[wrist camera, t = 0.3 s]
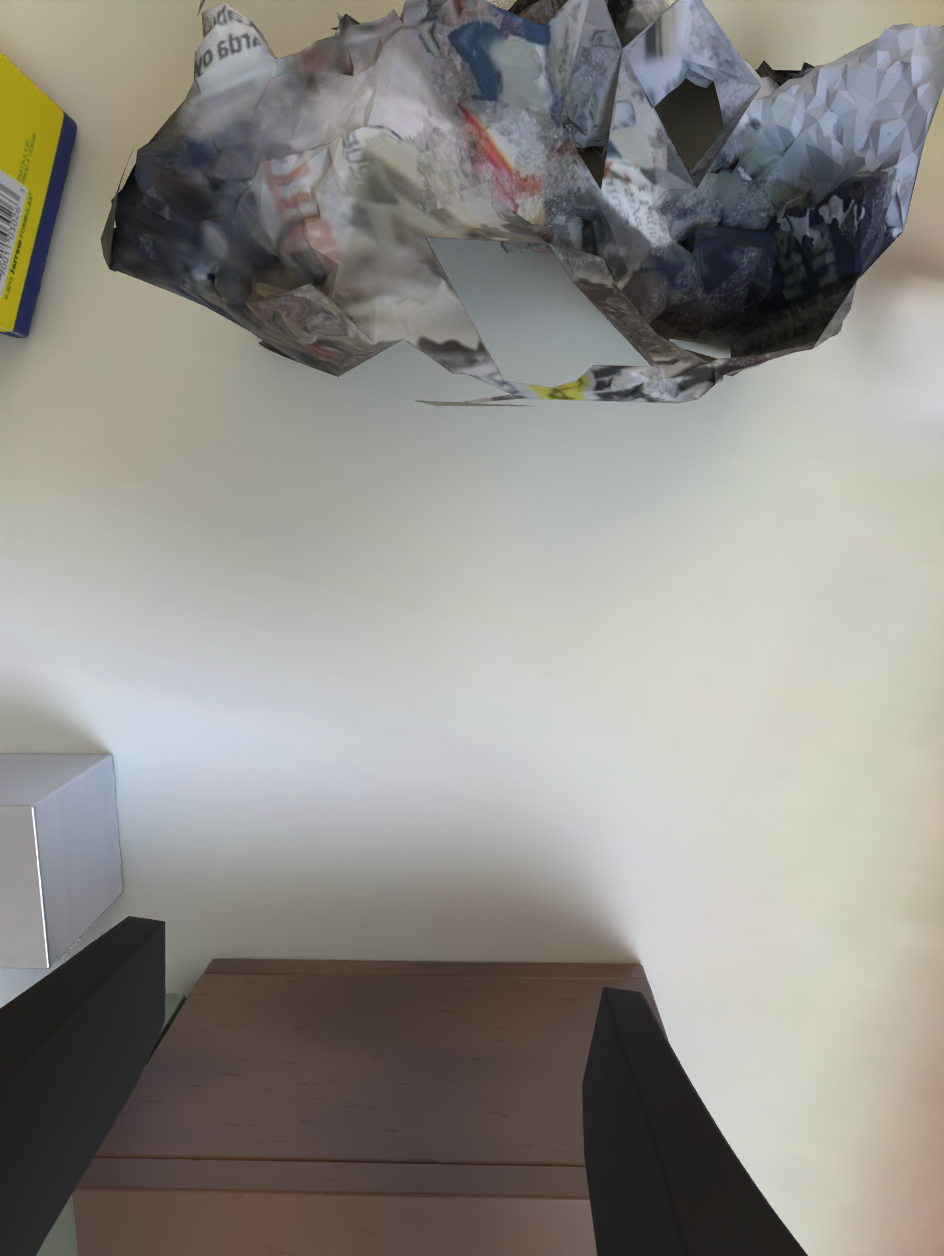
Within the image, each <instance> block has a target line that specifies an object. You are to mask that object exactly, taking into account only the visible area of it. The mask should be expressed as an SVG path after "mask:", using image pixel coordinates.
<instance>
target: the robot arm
mask: <svg viewBox="0 0 944 1256" xmlns="http://www.w3.org/2000/svg"><path fill="white" fill-rule="evenodd" d="M164 1023H165V921H158V920H152V919H145V918H138V917H131V916H128V917H127V918H126V919H124V920H123V921H121V922H120V923H119V924H117V925H116V926H114V927H113V928H111V929H110V930H109V931H107V932H106V933H105V934H103V935H102V936H100V937H99V938H98V939H96V940H95V941H94V942H92V943H91V944H89V945H88V946H87V947H85V948H84V949H83V950H81V951H80V952H79V953H77V954H76V955H75V956H73V957H72V958H70V959H69V960H68V961H66V962H65V963H64V964H62V965H61V966H60V967H58V968H57V969H55V970H54V971H53V972H51V973H50V974H49V975H47V976H46V977H44V978H43V979H42V980H40V981H39V982H37V983H36V984H34V985H33V986H32V987H30V988H29V989H27V990H26V991H25V992H23V993H22V994H20V995H19V996H17V997H16V998H15V999H13V1000H12V1001H10V1002H9V1003H8V1004H6V1005H5V1006H3V1007H2V1008H0V1256H36V1255H37V1253H38V1251H39V1250H40V1248H41V1246H42V1244H43V1242H44V1240H45V1239H46V1237H47V1235H48V1234H49V1232H50V1230H51V1229H52V1227H53V1225H54V1224H55V1222H56V1220H57V1219H58V1217H59V1215H60V1214H61V1212H62V1210H63V1208H64V1207H65V1205H66V1203H67V1202H68V1200H69V1198H70V1197H71V1195H72V1193H73V1192H74V1190H75V1188H76V1187H77V1185H78V1183H79V1182H80V1180H81V1178H82V1177H83V1175H84V1173H85V1172H86V1170H87V1168H88V1166H89V1165H90V1163H91V1161H92V1160H93V1158H94V1156H95V1155H96V1153H97V1151H98V1150H99V1148H100V1146H101V1145H102V1143H103V1141H104V1140H105V1138H106V1136H107V1134H108V1133H109V1131H110V1129H111V1128H112V1126H113V1124H114V1123H115V1121H116V1119H117V1117H118V1116H119V1114H120V1112H121V1111H122V1109H123V1107H124V1106H125V1104H126V1102H127V1100H128V1099H129V1097H130V1095H131V1093H132V1092H133V1090H134V1088H135V1086H136V1084H137V1082H138V1080H139V1078H140V1076H141V1074H142V1072H143V1069H144V1067H145V1065H146V1063H147V1061H148V1059H149V1057H150V1054H151V1052H152V1050H153V1048H154V1045H155V1043H156V1041H157V1038H158V1036H159V1034H160V1032H161V1029H162V1027H163V1025H164ZM582 1103H583V1136H584V1157H585V1166H586V1174H587V1182H588V1189H589V1197H590V1205H591V1213H592V1220H593V1228H594V1235H595V1243H596V1250H597V1256H808V1255H807V1254H806V1253H805V1251H804V1250H803V1249H802V1247H801V1246H800V1245H799V1243H798V1242H797V1241H796V1239H795V1238H794V1237H793V1235H792V1234H791V1233H790V1231H789V1230H788V1229H787V1227H786V1226H785V1225H784V1224H783V1222H782V1221H781V1220H780V1218H779V1217H778V1215H777V1214H776V1213H775V1211H774V1210H773V1208H772V1207H771V1206H770V1204H769V1203H768V1202H767V1200H766V1199H765V1197H764V1196H763V1194H762V1193H761V1192H760V1190H759V1189H758V1187H757V1186H756V1184H755V1183H754V1181H753V1180H752V1178H751V1177H750V1175H749V1174H748V1172H747V1171H746V1170H745V1168H744V1167H743V1165H742V1164H741V1162H740V1161H739V1159H738V1158H737V1156H736V1155H735V1153H734V1152H733V1150H732V1149H731V1147H730V1145H729V1144H728V1142H727V1141H726V1139H725V1137H724V1136H723V1134H722V1133H721V1131H720V1130H719V1128H718V1126H717V1125H716V1123H715V1121H714V1120H713V1118H712V1117H711V1115H710V1113H709V1112H708V1110H707V1108H706V1107H705V1105H704V1103H703V1102H702V1100H701V1098H700V1097H699V1095H698V1093H697V1092H696V1090H695V1088H694V1087H693V1085H692V1083H691V1081H690V1080H689V1078H688V1076H687V1074H686V1073H685V1071H684V1069H683V1067H682V1066H681V1064H680V1062H679V1060H678V1058H677V1057H676V1055H675V1053H674V1051H673V1049H672V1047H671V1046H670V1044H669V1042H668V1040H667V1038H666V1036H665V1034H664V1033H663V1031H662V1029H661V1027H660V1025H659V1023H658V1021H657V1019H656V1017H655V1015H654V1013H653V1011H652V1009H651V1007H650V1005H649V1003H648V1001H647V999H646V998H645V997H644V995H643V994H642V993H641V992H638V991H631V990H624V989H617V988H611V987H604V986H603V990H602V995H601V999H600V1004H599V1008H598V1013H597V1017H596V1022H595V1027H594V1031H593V1036H592V1040H591V1045H590V1050H589V1054H588V1059H587V1063H586V1068H585V1073H584V1077H583V1082H582Z"/></svg>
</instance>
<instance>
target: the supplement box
mask: <svg viewBox="0 0 944 1256" xmlns="http://www.w3.org/2000/svg"><path fill="white" fill-rule="evenodd" d="M76 130H77V126H76V123H75V122H74V121H73V120H72V119H71V118H70V117H69V116H68V115H67V114H66V113H65V112H64V111H63V110H62V109H60V108H59V107H58V106H57V105H56V104H55V103H54V102H53V101H52V100H51V99H50V98H49V97H48V96H47V95H46V94H44V93H43V92H42V91H41V90H40V89H39V88H38V87H37V86H36V85H35V84H34V83H33V82H32V81H31V80H30V79H29V78H28V77H27V76H25V75H24V74H23V73H22V72H21V71H20V70H19V69H18V68H17V67H16V66H15V65H13V64H12V63H11V62H10V61H9V60H8V59H7V58H6V57H5V56H4V55H3V54H2V53H1V52H0V333H1V334H5V335H8V336H12V337H17V338H26V337H27V336H28V333H29V328H30V324H31V320H32V316H33V312H34V308H35V303H36V298H37V294H38V292H39V291H40V283H41V277H42V274H43V270H44V266H45V261H46V257H47V253H48V248H49V244H50V240H51V236H52V231H53V227H54V223H55V219H56V214H57V211H58V207H59V203H60V198H61V194H62V190H63V186H64V182H65V178H66V174H67V170H68V165H69V160H70V156H71V152H72V148H73V144H74V140H75V136H76Z"/></svg>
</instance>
